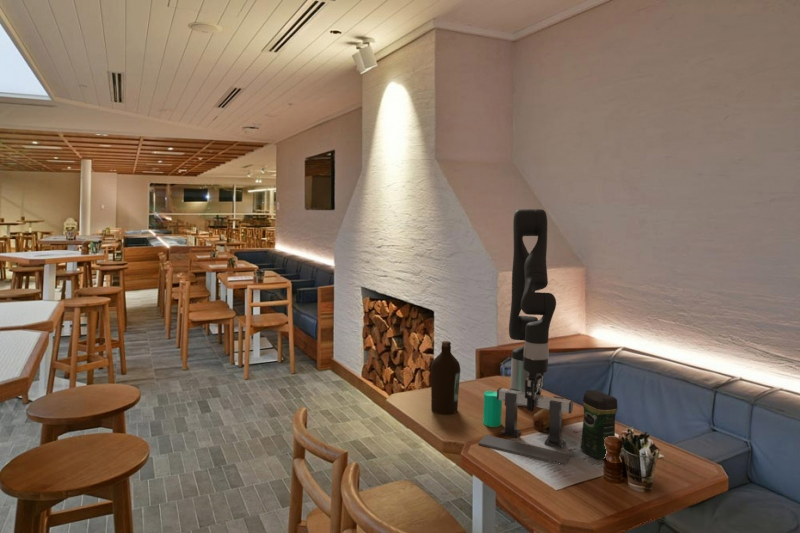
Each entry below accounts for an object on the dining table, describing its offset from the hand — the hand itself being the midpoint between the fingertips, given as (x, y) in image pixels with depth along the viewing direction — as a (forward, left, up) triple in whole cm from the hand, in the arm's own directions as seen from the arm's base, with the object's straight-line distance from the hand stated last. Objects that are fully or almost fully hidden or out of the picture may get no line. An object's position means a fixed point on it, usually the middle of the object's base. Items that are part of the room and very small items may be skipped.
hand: (533, 407), depth 165 cm
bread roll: (-12, +2, -11) cm, 16 cm away
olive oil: (-8, -34, -10) cm, 36 cm away
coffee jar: (0, +20, -10) cm, 22 cm away
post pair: (0, 0, -10) cm, 10 cm away
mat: (+10, 0, -10) cm, 14 cm away
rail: (0, 0, +1) cm, 1 cm away
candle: (-5, -15, -10) cm, 19 cm away
